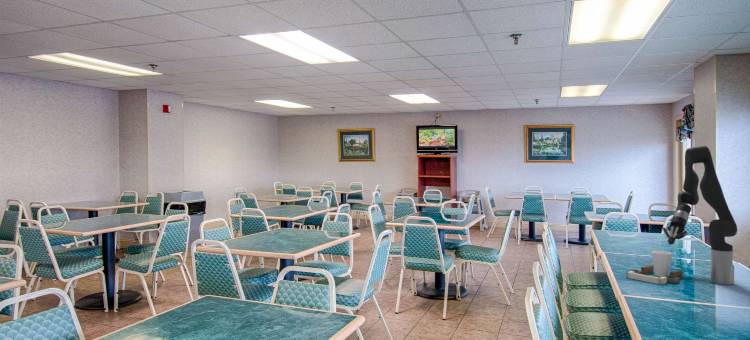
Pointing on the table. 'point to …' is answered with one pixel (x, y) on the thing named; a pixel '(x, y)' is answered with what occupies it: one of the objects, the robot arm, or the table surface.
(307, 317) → the table surface
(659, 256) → the foam cup
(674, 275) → the channel
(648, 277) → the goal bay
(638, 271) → the pit
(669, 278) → the pit
